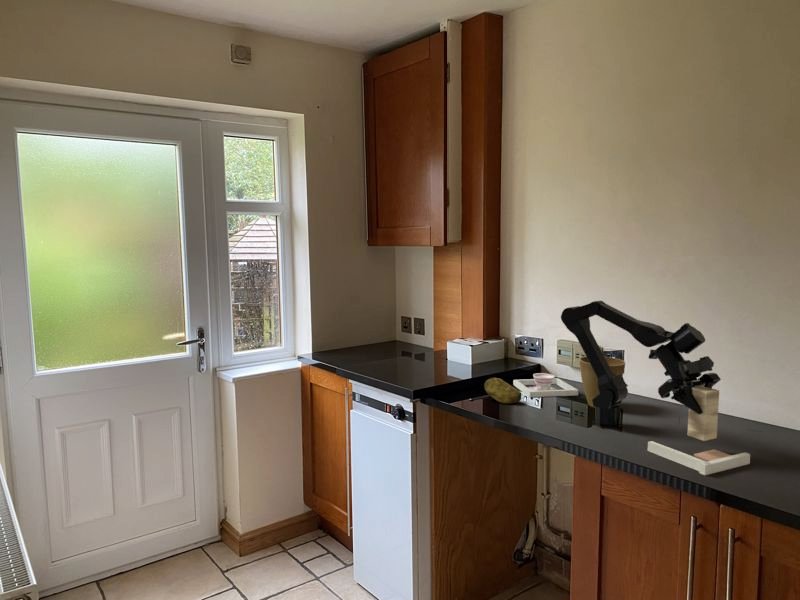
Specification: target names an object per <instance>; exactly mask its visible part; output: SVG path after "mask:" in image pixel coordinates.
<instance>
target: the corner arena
mask: <svg viewBox="0 0 800 600" xmlns="http://www.w3.org/2000/svg"><path fill="white" fill-rule="evenodd" d="M647 452H650V453H652V454H655V455H656V456H659V457H662V458H665V459H667V460H670V461H673V462H675V463H678V464H680V465H682V466H685V467H687V468H690V469H692V470H695V471H697V472H698V473H699V474H700V475H703V476H708V475H713V474H715V473H720V472H724V471H726V470H731V469H734V468H735V469H736V468H739V467H742V466H746V465H750V463H751V453H748V452H746V451H745V452H740V453H736V454H733V455H732V454H729V453H725V452H723V451H720V450H717V449H715V448H714V449H710V450H709V449H708V450H705V451H701V452H698V453H693V455H690V454H688V453H684V452H682V451H680V450H676V449H675V448H672V447H669V446H666V445H663V444H662V443H658V442H656V441H653V440H651V441H647Z"/></svg>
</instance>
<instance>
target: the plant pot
mask: <svg viewBox="0 0 800 600" xmlns="http://www.w3.org/2000/svg"><path fill="white" fill-rule="evenodd" d="M604 357H605V359H606V361H607V363H608V365H609V367H610V369H611V370H612V372H613V373H614V374H616V375H619V374H621V375H622V376H624V372H625V368H626V367H625V366H626V361H625V360H623V359H620V358H615V357H610V356H604ZM579 369H580V375H581V376H580V377H581V381H582V387H583V391H584V395H585V397H586V401H587V404H588V406H589V407H591V408H594V409H595V407H594V405H593V402H592V400H593V399H594V398H595V397H596V396H598V395H599V394H600V393H599V390H598V383H597V376H596V374H595V372H594V370H593V368H592V366H591V364H590V363H589V361H588V359H587V357H586V355H585V356H582V357H580V358H579Z"/></svg>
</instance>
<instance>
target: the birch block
mask: <svg viewBox="0 0 800 600" xmlns="http://www.w3.org/2000/svg"><path fill="white" fill-rule="evenodd" d="M692 394H693V396H694V398H695V399H696V401H697V403H698V404H699V406H700V408H701V410H702V412H703V413H702V414H698V413H696V412H694V411H693V410H691V409H690V408H688V414H687V433H686V434H687V436H689V437H691V438H694V439H696V440H697V439H698V440H700V441H703V442H704V441H705V442H706V441H710V440H714V439H717V438H718V423H719V422H718V421H719V405H720V404H719V402H720V401H719V400H720V390H719V389H715V388H713V387H712V388H708V387H704V386H700V387H694V388H692Z"/></svg>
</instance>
